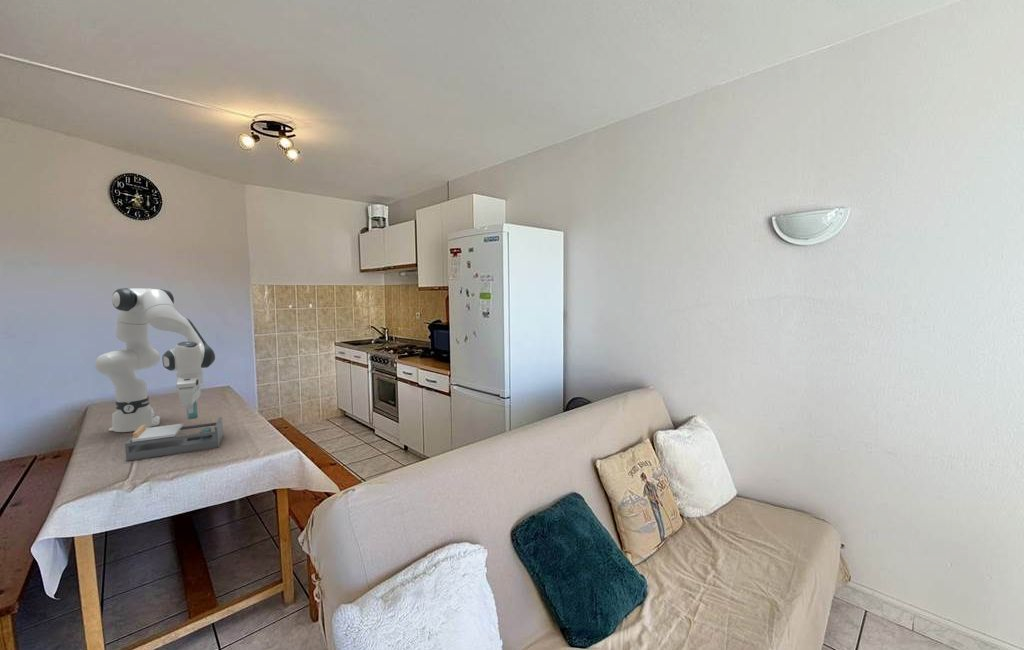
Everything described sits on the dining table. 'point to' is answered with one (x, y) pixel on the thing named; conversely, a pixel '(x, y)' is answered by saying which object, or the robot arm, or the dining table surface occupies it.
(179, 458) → the dining table surface
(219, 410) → the dining table surface
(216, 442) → the housing
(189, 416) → the teal rounded capsule
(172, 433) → the lid
